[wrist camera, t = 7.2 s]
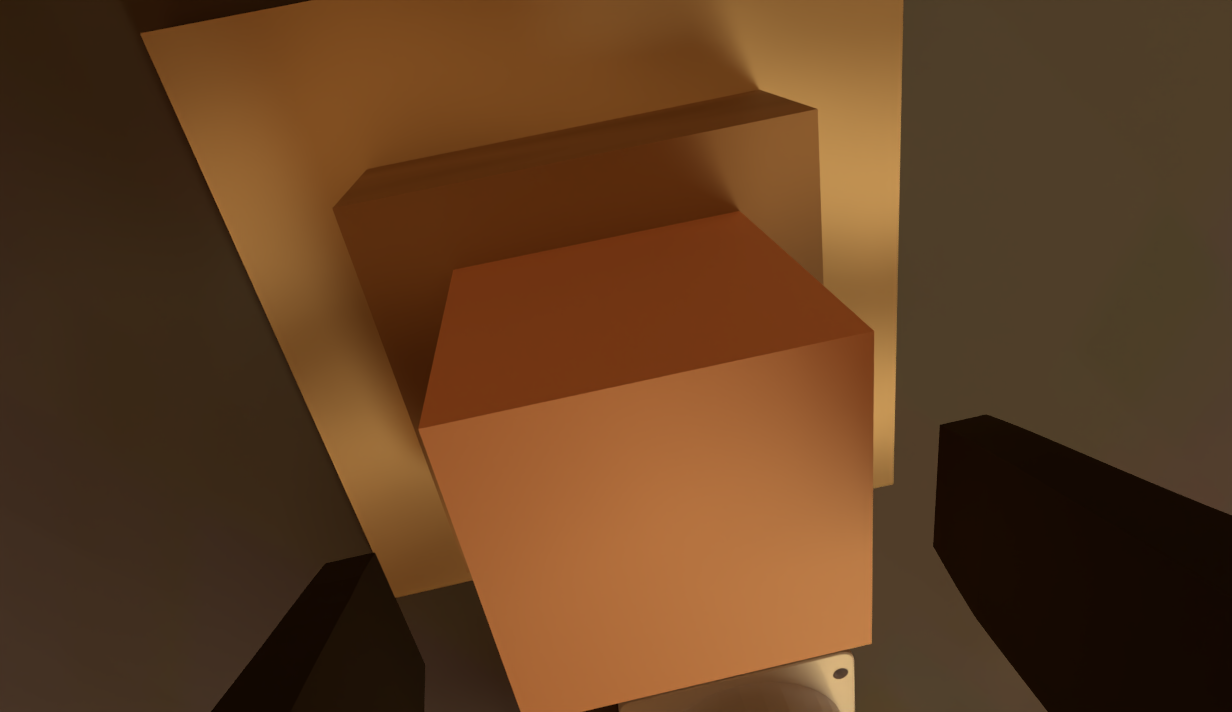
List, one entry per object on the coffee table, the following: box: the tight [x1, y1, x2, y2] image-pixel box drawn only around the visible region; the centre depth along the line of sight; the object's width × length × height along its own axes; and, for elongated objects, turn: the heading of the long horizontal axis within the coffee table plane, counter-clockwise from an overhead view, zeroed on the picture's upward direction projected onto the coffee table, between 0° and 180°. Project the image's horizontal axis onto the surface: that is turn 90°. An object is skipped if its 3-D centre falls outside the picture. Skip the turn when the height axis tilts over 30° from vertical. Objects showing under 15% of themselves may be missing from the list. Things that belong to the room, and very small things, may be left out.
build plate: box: [140, 0, 903, 598], centre depth 16 cm, size 14×14×1 cm
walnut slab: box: [332, 90, 824, 573], centre depth 14 cm, size 8×8×3 cm
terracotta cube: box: [418, 211, 874, 712], centre depth 11 cm, size 5×5×5 cm
